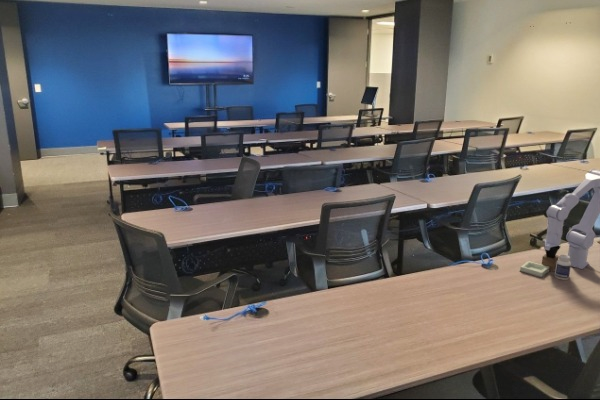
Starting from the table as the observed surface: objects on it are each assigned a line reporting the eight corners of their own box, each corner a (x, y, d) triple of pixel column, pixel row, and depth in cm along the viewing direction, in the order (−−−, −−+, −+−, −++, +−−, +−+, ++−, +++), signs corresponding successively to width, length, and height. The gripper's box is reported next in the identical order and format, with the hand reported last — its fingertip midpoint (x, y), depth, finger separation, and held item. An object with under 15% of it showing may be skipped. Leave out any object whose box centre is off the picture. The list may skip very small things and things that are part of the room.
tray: (527, 265, 208) (528, 260, 207) (548, 271, 202) (549, 266, 201) (519, 271, 202) (520, 266, 201) (541, 277, 196) (542, 272, 195)
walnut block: (544, 265, 208) (546, 253, 206) (556, 268, 204) (558, 256, 203) (540, 268, 204) (542, 256, 203) (552, 272, 201) (554, 259, 199)
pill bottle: (570, 280, 192) (574, 259, 190) (556, 279, 193) (560, 258, 191) (566, 275, 198) (569, 254, 195) (552, 274, 199) (555, 253, 196)
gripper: (550, 226, 207) (546, 253, 211) (538, 234, 198) (534, 262, 201) (567, 229, 202) (562, 258, 206) (556, 238, 193) (551, 267, 196)
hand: (550, 260), depth 203 cm, fingers closed
